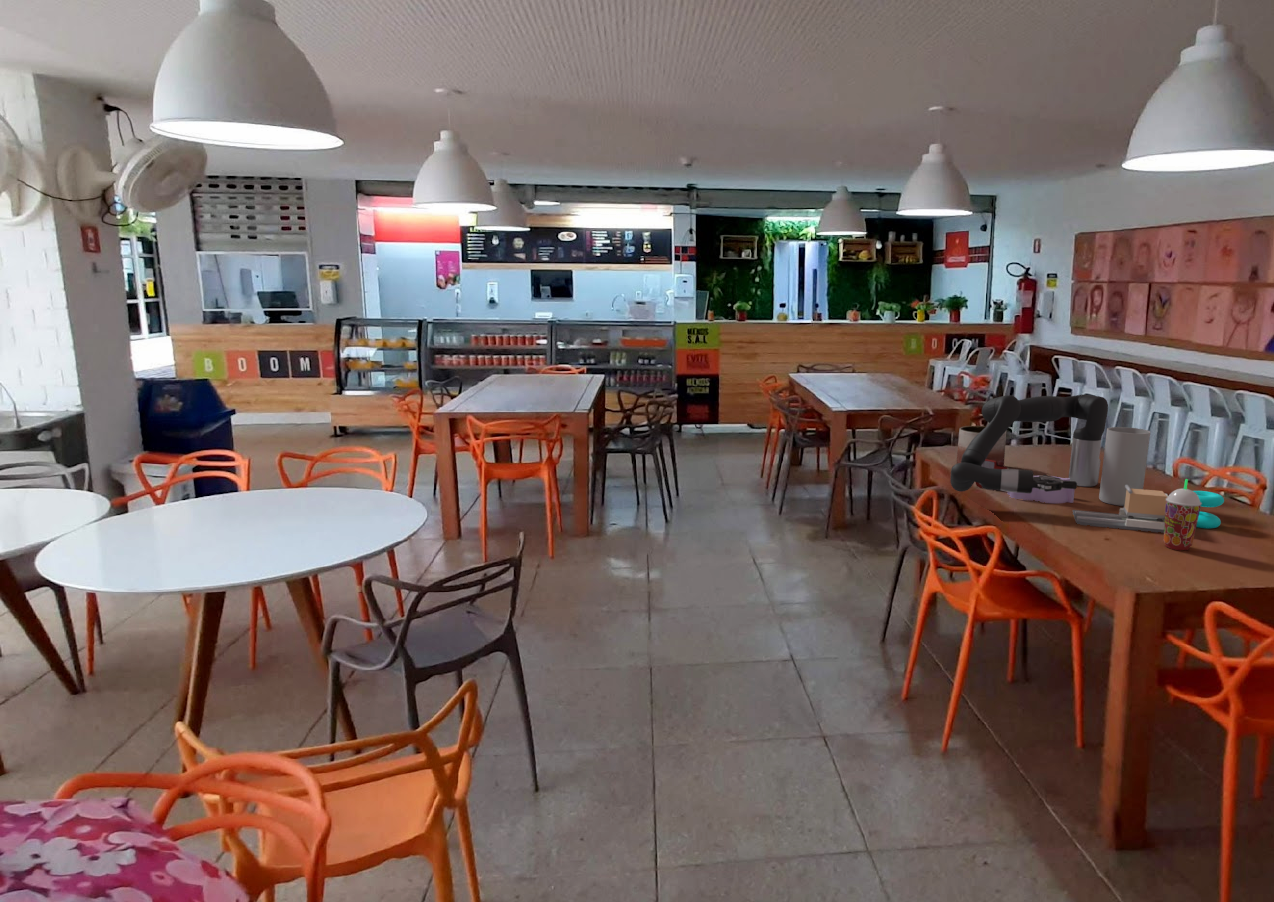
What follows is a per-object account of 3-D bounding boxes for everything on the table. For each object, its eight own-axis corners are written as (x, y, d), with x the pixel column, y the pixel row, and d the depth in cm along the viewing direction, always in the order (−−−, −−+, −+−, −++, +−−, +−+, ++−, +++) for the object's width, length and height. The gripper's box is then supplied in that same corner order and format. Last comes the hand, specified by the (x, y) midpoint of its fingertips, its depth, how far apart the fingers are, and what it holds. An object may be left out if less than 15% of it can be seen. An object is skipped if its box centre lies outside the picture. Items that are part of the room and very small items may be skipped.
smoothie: (1152, 543, 232) (1161, 476, 228) (1179, 542, 232) (1189, 475, 228) (1174, 552, 224) (1183, 483, 219) (1202, 551, 224) (1212, 482, 220)
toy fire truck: (1005, 492, 288) (1007, 464, 286) (970, 486, 297) (973, 459, 294) (1012, 489, 293) (1015, 461, 291) (978, 483, 302) (980, 456, 299)
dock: (1072, 512, 263) (1075, 486, 261) (1162, 521, 253) (1166, 493, 251) (1076, 524, 250) (1079, 496, 248) (1171, 533, 240) (1175, 504, 238)
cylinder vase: (1102, 505, 271) (1111, 432, 266) (1095, 496, 283) (1103, 426, 278) (1145, 508, 267) (1154, 434, 262) (1136, 499, 279) (1145, 428, 273)
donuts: (1184, 488, 254) (1223, 492, 249) (1180, 518, 256) (1218, 523, 251) (1185, 495, 246) (1226, 499, 240) (1181, 526, 248) (1221, 531, 242)
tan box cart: (1121, 514, 254) (1125, 484, 252) (1159, 517, 250) (1163, 487, 248) (1125, 520, 247) (1128, 490, 245) (1164, 524, 243) (1168, 493, 241)
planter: (1006, 465, 330) (1010, 428, 326) (999, 474, 315) (1003, 435, 312) (961, 460, 339) (963, 424, 336) (952, 469, 324) (955, 430, 321)
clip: (1011, 501, 277) (1013, 482, 276) (1004, 492, 289) (1006, 473, 287) (1075, 505, 272) (1077, 485, 271) (1065, 495, 284) (1067, 476, 283)
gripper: (1018, 474, 254) (1079, 478, 248) (1016, 465, 266) (1075, 469, 259) (1016, 497, 256) (1077, 502, 249) (1014, 487, 268) (1073, 491, 261)
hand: (1076, 485), depth 254 cm, fingers closed
